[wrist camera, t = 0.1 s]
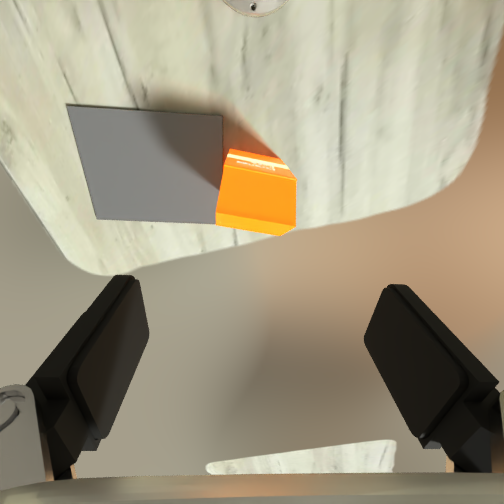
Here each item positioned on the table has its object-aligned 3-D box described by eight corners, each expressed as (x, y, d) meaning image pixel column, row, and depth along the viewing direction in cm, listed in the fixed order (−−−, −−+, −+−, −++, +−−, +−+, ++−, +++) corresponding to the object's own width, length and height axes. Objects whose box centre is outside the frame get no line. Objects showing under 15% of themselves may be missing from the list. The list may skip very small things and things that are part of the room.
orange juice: (229, 147, 41) (219, 174, 23) (281, 158, 42) (308, 191, 24) (223, 193, 44) (210, 245, 27) (270, 202, 46) (287, 258, 28)
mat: (69, 106, 37) (66, 105, 37) (222, 115, 38) (222, 116, 38) (98, 218, 46) (97, 219, 45) (222, 223, 47) (222, 224, 47)
